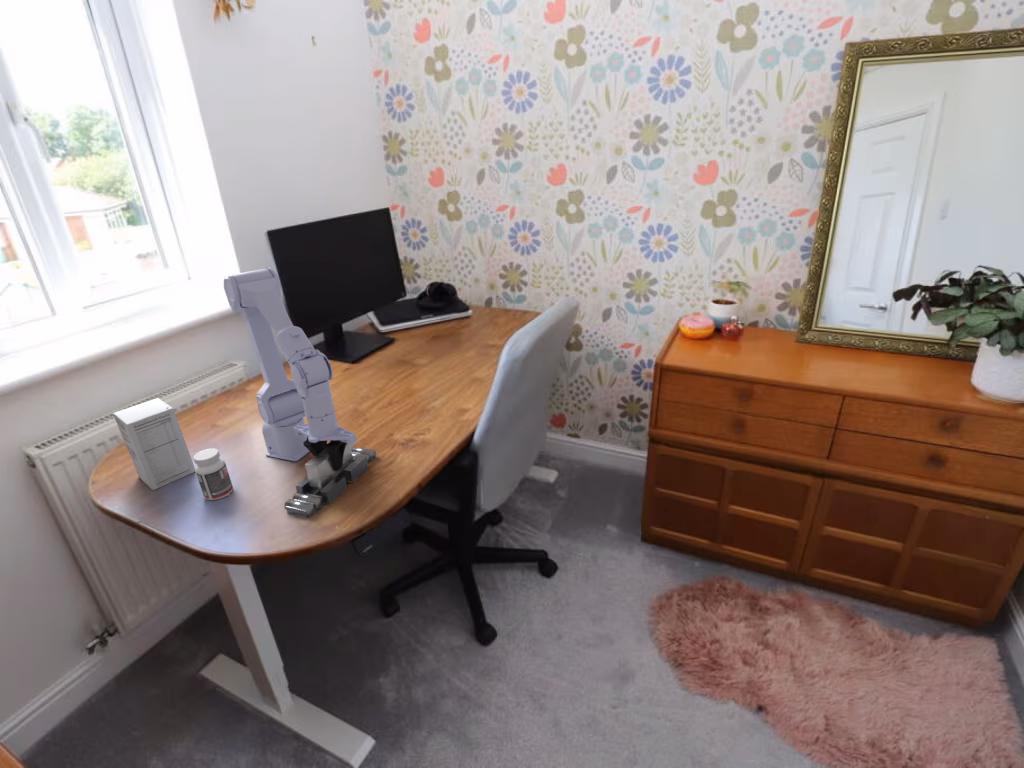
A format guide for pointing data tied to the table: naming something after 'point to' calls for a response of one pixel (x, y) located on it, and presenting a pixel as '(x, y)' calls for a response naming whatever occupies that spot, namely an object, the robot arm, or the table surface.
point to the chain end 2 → (358, 463)
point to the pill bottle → (212, 474)
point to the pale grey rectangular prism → (325, 468)
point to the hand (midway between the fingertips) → (331, 467)
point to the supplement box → (155, 442)
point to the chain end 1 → (314, 496)
